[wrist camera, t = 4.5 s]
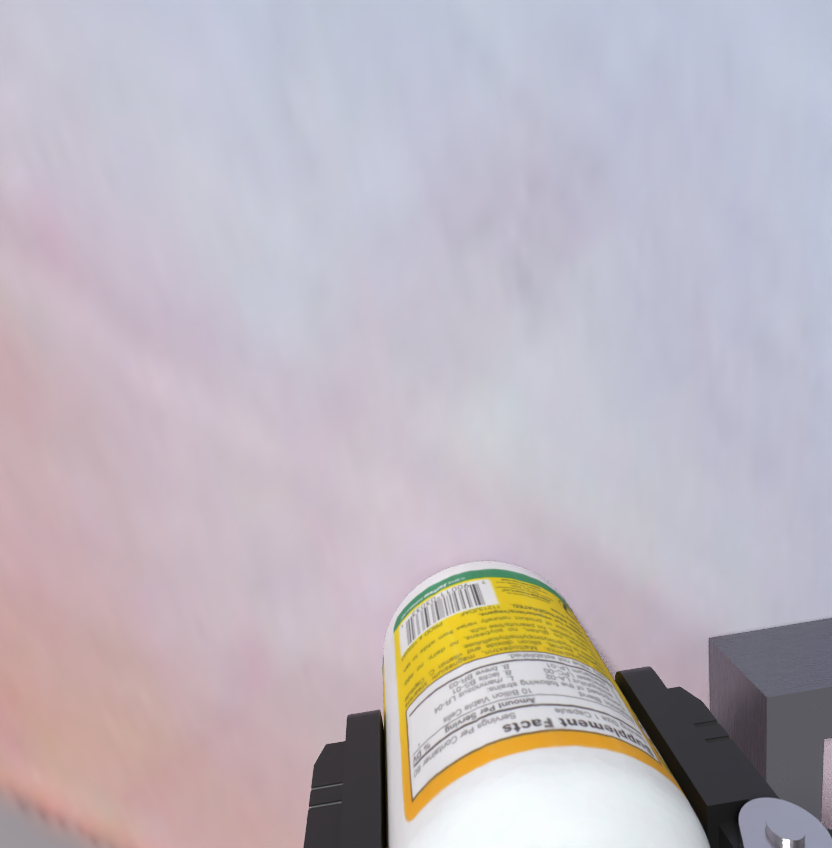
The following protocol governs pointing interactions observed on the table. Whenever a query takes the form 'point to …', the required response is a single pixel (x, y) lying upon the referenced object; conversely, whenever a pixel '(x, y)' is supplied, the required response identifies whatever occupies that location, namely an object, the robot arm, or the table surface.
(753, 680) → the rail
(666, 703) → the robot arm
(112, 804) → the table surface
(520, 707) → the supplement bottle
